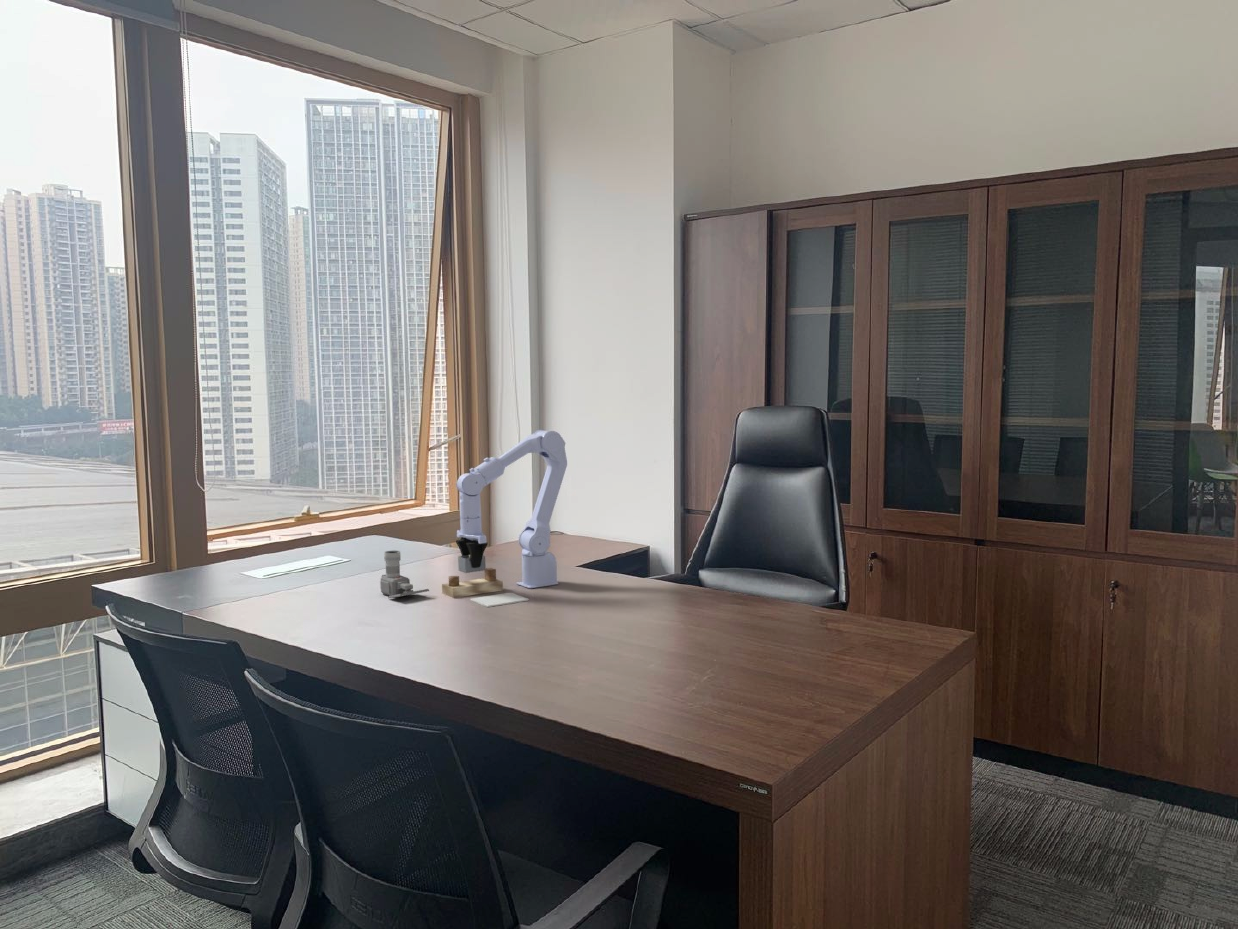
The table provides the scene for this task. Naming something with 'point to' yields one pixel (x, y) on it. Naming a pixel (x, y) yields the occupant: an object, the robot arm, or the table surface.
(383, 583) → the camera
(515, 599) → the felt mat
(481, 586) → the body
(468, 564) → the lever cap
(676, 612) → the table surface
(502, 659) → the table surface
